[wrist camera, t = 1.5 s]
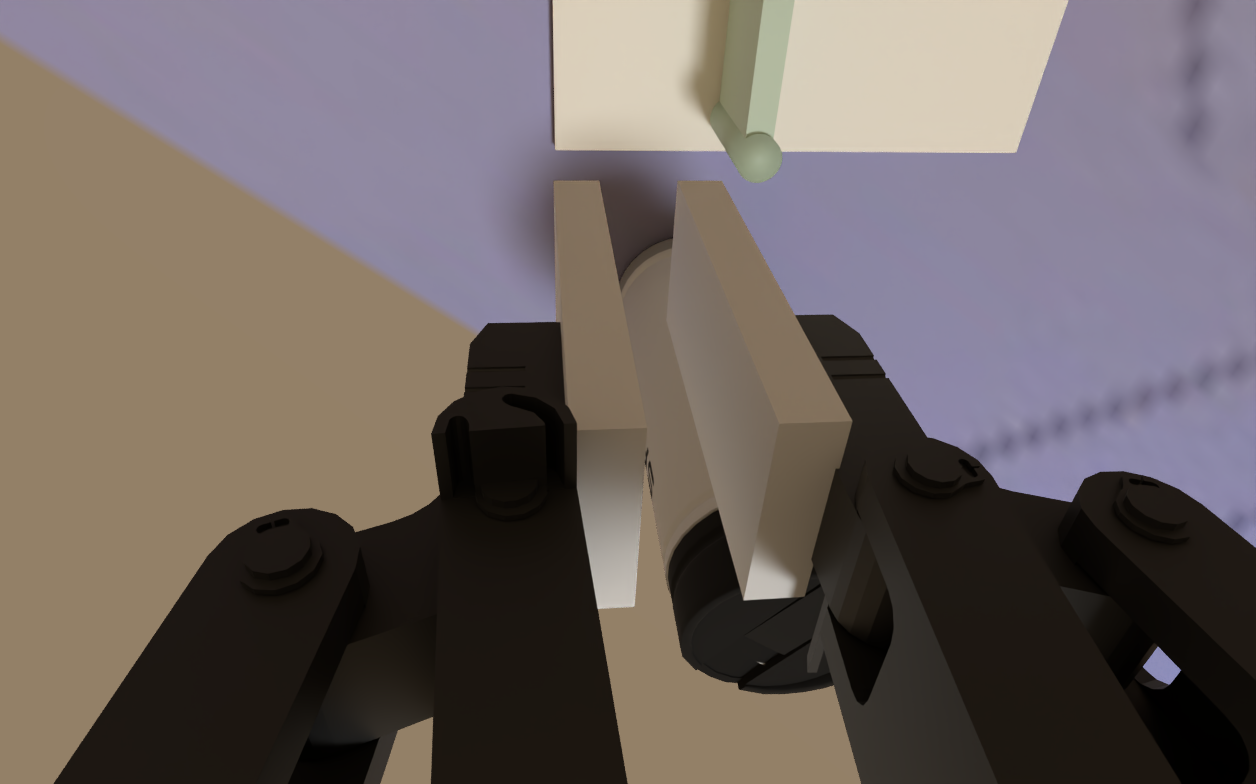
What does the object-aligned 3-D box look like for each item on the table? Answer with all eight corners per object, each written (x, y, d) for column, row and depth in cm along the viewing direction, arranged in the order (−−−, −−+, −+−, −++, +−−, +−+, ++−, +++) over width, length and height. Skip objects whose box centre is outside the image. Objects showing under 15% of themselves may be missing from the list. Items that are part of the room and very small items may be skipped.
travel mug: (777, 279, 36) (970, 632, 20) (683, 370, 39) (788, 746, 23) (683, 201, 34) (823, 539, 18) (589, 304, 36) (634, 680, 20)
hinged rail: (741, -187, 25) (781, -190, 21) (789, -184, 25) (838, -187, 21) (708, 137, 31) (734, 182, 27) (746, 137, 31) (778, 182, 27)
